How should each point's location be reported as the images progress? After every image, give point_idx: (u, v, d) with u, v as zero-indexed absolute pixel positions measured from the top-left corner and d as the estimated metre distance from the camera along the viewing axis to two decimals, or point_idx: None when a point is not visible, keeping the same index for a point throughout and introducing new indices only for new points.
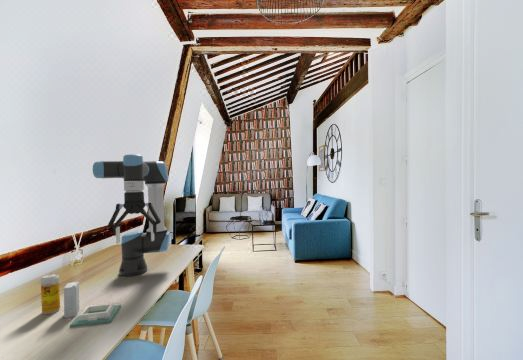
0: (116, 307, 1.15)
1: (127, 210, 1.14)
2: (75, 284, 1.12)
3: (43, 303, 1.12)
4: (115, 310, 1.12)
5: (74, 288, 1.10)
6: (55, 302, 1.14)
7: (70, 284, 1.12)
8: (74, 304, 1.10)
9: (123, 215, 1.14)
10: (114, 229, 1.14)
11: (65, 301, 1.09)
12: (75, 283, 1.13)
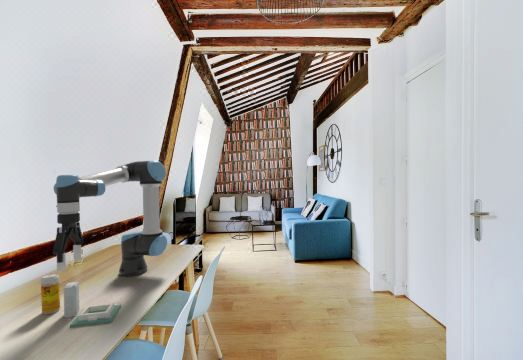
0: (116, 307, 1.15)
1: None
2: (75, 284, 1.12)
3: (43, 303, 1.12)
4: (115, 310, 1.12)
5: (74, 288, 1.10)
6: (55, 302, 1.14)
7: (70, 284, 1.12)
8: (74, 304, 1.10)
9: None
10: None
11: (65, 301, 1.09)
12: (75, 283, 1.13)
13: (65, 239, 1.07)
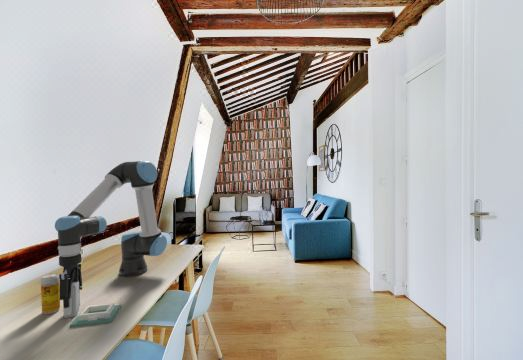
0: (116, 307, 1.15)
1: None
2: (75, 284, 1.12)
3: (43, 303, 1.12)
4: (115, 310, 1.12)
5: (74, 288, 1.10)
6: (55, 302, 1.14)
7: None
8: (74, 304, 1.10)
9: None
10: None
11: None
12: (75, 283, 1.13)
13: (69, 283, 1.09)
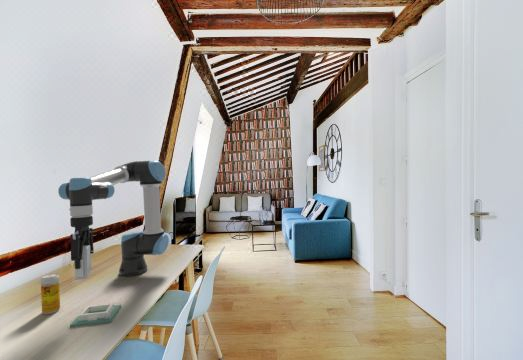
0: (116, 307, 1.15)
1: None
2: (86, 246, 1.10)
3: (43, 303, 1.12)
4: (115, 310, 1.12)
5: (85, 250, 1.08)
6: (55, 302, 1.14)
7: None
8: (85, 266, 1.08)
9: None
10: None
11: None
12: (86, 246, 1.11)
13: (80, 245, 1.07)
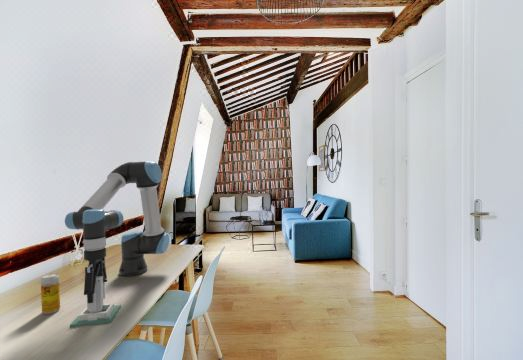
0: (116, 307, 1.15)
1: None
2: (100, 278, 1.10)
3: (43, 303, 1.12)
4: (115, 310, 1.12)
5: (99, 282, 1.07)
6: (55, 302, 1.14)
7: None
8: (99, 299, 1.07)
9: None
10: None
11: None
12: (99, 277, 1.11)
13: (93, 278, 1.06)
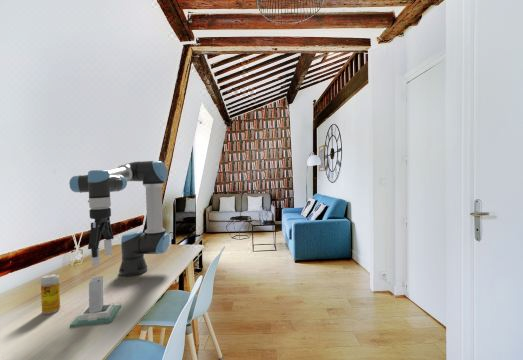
0: (116, 307, 1.15)
1: None
2: (100, 278, 1.10)
3: (43, 303, 1.12)
4: (115, 310, 1.12)
5: (99, 282, 1.07)
6: (55, 302, 1.14)
7: (94, 279, 1.09)
8: (99, 299, 1.07)
9: None
10: None
11: (90, 296, 1.06)
12: (99, 277, 1.11)
13: (98, 234, 1.08)
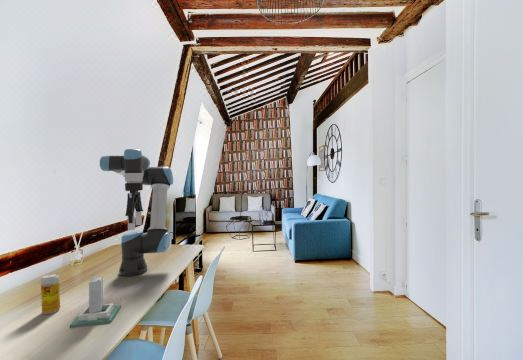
0: (116, 307, 1.15)
1: None
2: (100, 278, 1.10)
3: (43, 303, 1.12)
4: (115, 310, 1.12)
5: (99, 282, 1.07)
6: (55, 302, 1.14)
7: (95, 279, 1.09)
8: (99, 299, 1.07)
9: None
10: None
11: (90, 296, 1.06)
12: (99, 277, 1.11)
13: None
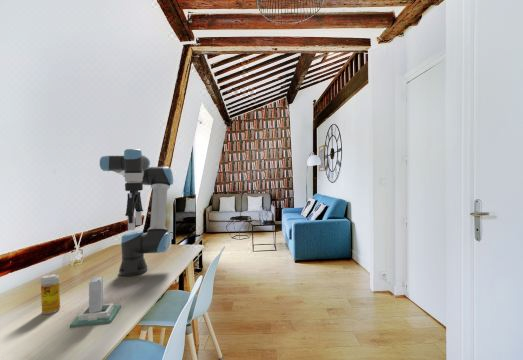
0: (116, 307, 1.15)
1: None
2: (100, 278, 1.10)
3: (43, 303, 1.12)
4: (115, 310, 1.12)
5: (99, 282, 1.07)
6: (55, 302, 1.14)
7: (94, 279, 1.09)
8: (99, 299, 1.07)
9: None
10: None
11: (90, 296, 1.06)
12: (99, 277, 1.11)
13: None
